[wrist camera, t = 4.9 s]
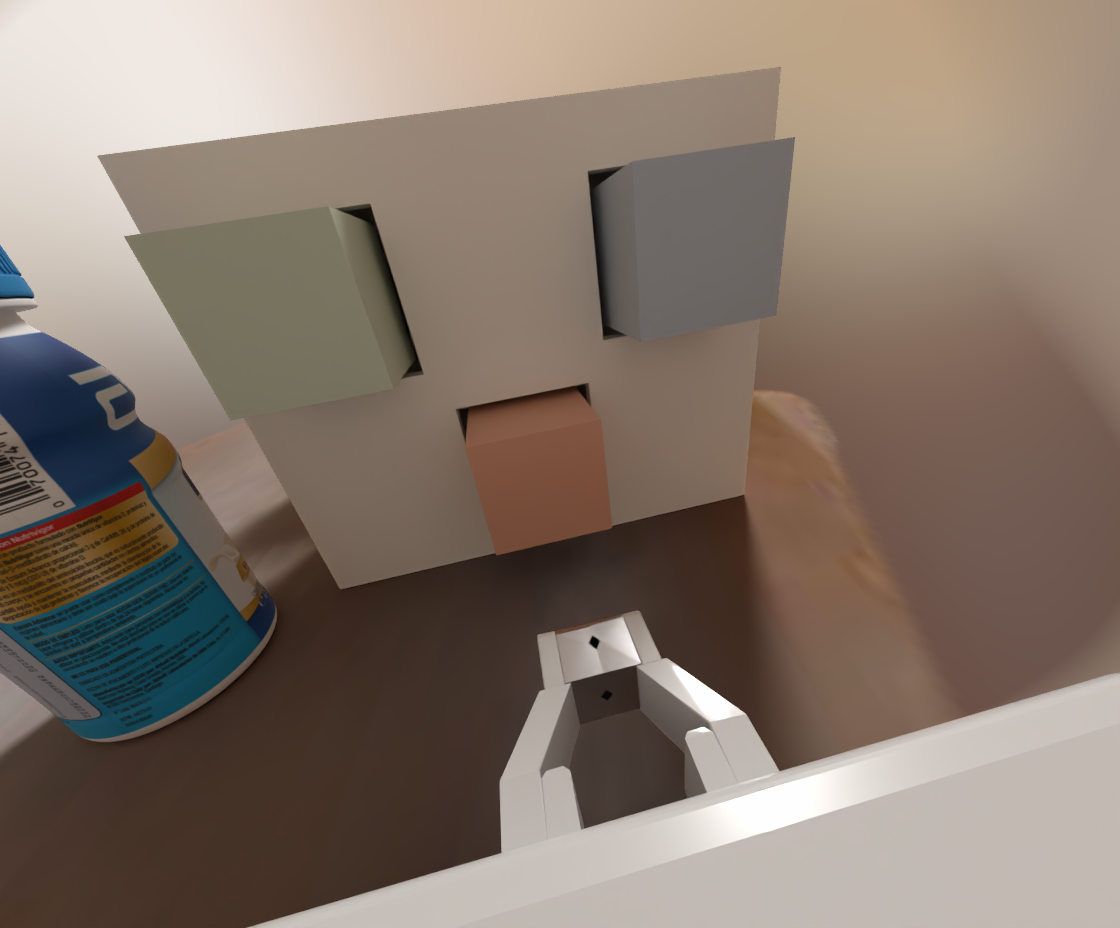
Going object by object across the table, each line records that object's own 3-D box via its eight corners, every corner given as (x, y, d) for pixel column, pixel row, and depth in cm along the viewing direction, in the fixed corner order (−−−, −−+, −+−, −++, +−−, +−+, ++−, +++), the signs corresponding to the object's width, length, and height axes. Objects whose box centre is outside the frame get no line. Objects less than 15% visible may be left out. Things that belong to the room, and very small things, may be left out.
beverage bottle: (20, 765, 17) (-808, 218, 7) (181, 608, 24) (-133, 237, 15) (211, 739, 17) (-399, 140, 7) (314, 589, 24) (79, 200, 15)
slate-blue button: (640, 341, 16) (631, 161, 13) (601, 323, 21) (589, 191, 19) (776, 315, 17) (794, 137, 14) (705, 304, 22) (708, 173, 19)
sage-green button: (230, 420, 15) (124, 236, 12) (296, 379, 20) (234, 246, 17) (393, 389, 15) (328, 206, 12) (415, 357, 20) (373, 224, 18)
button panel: (340, 589, 24) (97, 156, 14) (379, 498, 33) (251, 200, 23) (744, 494, 26) (780, 67, 16) (675, 434, 35) (671, 139, 25)
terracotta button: (496, 555, 20) (465, 447, 17) (492, 494, 25) (468, 404, 22) (612, 528, 20) (600, 419, 17) (585, 473, 25) (572, 383, 23)
